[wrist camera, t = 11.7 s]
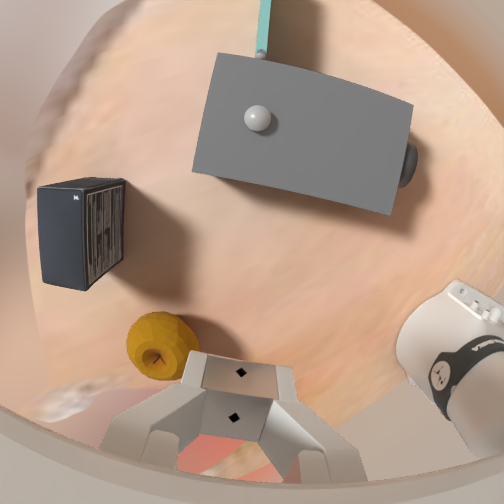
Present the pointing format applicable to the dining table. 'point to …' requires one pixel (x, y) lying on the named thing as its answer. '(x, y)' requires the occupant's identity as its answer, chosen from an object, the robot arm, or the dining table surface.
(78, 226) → the small box
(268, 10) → the side door
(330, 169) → the block
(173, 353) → the apple
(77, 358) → the dining table surface
